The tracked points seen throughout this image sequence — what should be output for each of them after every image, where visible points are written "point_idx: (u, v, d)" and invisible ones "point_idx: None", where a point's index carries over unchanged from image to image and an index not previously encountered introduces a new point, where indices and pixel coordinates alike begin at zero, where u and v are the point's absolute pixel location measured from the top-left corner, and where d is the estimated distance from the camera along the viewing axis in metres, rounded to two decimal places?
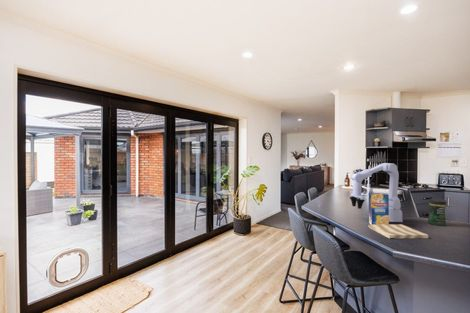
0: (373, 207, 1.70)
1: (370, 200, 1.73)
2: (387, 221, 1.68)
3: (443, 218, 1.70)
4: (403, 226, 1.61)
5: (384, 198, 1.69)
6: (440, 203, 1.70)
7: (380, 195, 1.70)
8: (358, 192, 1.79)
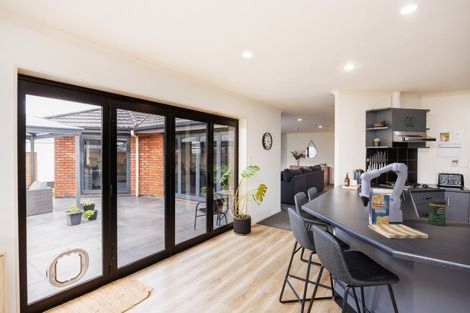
0: (373, 208, 1.70)
1: (371, 201, 1.72)
2: (387, 222, 1.68)
3: (443, 218, 1.70)
4: (403, 226, 1.61)
5: (385, 199, 1.68)
6: (440, 203, 1.70)
7: (381, 196, 1.69)
8: (366, 191, 1.81)
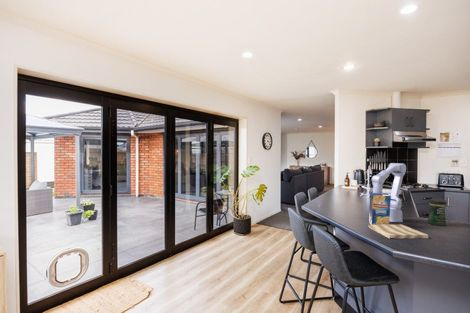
0: (374, 208, 1.68)
1: (371, 201, 1.71)
2: (387, 222, 1.67)
3: (443, 218, 1.70)
4: (403, 226, 1.61)
5: (386, 200, 1.66)
6: (440, 203, 1.70)
7: (382, 197, 1.66)
8: None
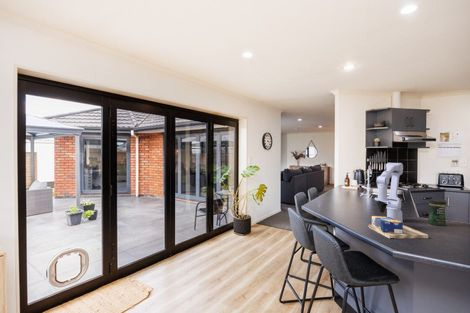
0: None
1: (380, 226, 1.54)
2: None
3: (443, 218, 1.70)
4: (403, 226, 1.61)
5: None
6: (440, 203, 1.70)
7: (392, 232, 1.48)
8: (384, 196, 1.66)
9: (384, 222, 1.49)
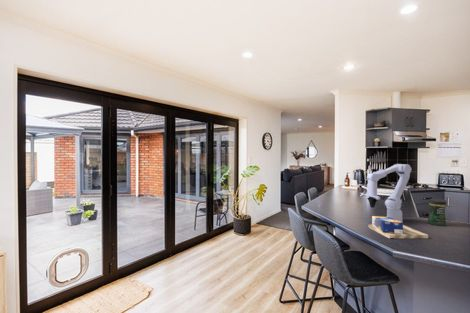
0: None
1: (380, 226, 1.53)
2: None
3: (443, 218, 1.70)
4: (403, 226, 1.61)
5: None
6: (440, 203, 1.70)
7: (393, 232, 1.48)
8: (374, 192, 1.78)
9: (384, 222, 1.49)
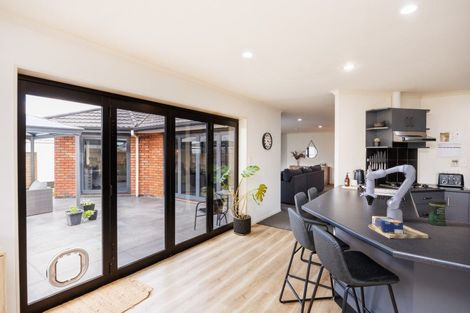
0: None
1: (380, 226, 1.53)
2: None
3: (443, 218, 1.70)
4: (403, 226, 1.61)
5: None
6: (440, 203, 1.70)
7: None
8: (371, 190, 1.85)
9: (384, 222, 1.48)
